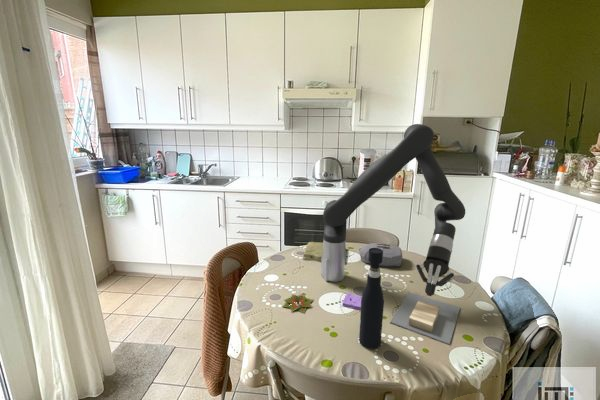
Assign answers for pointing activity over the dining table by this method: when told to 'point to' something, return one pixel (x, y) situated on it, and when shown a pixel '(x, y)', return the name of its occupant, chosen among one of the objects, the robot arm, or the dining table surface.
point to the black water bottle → (372, 303)
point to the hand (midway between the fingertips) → (428, 295)
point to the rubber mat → (442, 325)
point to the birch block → (424, 316)
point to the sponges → (352, 301)
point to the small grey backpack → (390, 254)
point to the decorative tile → (314, 251)
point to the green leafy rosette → (298, 299)
